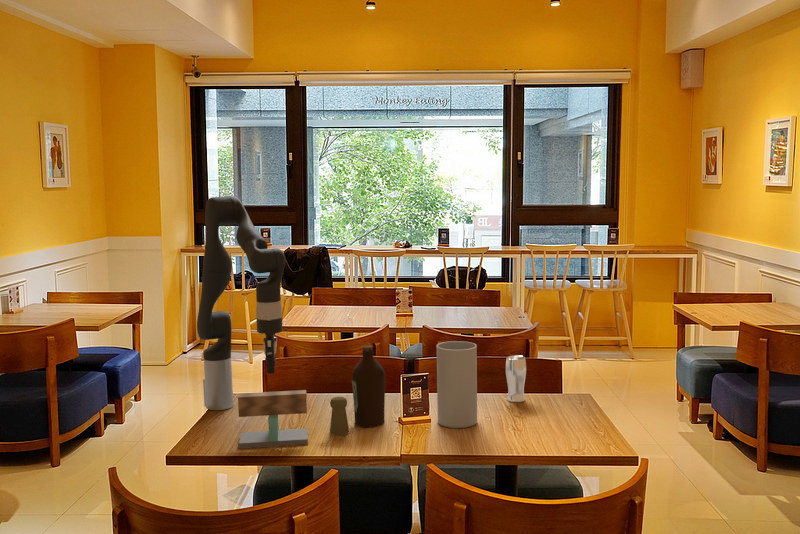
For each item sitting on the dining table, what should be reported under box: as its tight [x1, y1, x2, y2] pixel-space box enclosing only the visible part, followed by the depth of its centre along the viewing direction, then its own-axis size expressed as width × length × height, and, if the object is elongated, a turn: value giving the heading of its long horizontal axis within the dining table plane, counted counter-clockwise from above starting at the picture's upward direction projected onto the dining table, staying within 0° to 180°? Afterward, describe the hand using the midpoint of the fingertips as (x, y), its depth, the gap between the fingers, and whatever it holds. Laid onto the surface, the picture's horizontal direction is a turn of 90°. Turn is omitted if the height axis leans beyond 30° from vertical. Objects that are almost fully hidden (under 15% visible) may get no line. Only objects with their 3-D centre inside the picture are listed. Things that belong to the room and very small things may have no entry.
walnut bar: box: [237, 389, 308, 418], centre depth 236 cm, size 20×4×6 cm, turn 97°
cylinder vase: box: [436, 340, 478, 429], centre depth 249 cm, size 12×12×25 cm
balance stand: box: [238, 415, 309, 449], centre depth 237 cm, size 20×10×8 cm, turn 97°
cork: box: [329, 396, 350, 436], centre depth 243 cm, size 6×6×11 cm
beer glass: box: [505, 355, 527, 403], centre depth 273 cm, size 7×7×15 cm
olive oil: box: [351, 344, 386, 428], centre depth 251 cm, size 11×11×25 cm
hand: (271, 369), depth 235 cm, fingers open, 8 cm apart
